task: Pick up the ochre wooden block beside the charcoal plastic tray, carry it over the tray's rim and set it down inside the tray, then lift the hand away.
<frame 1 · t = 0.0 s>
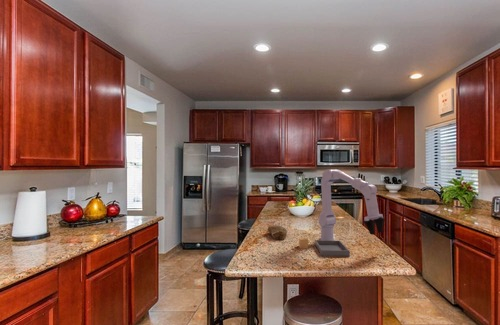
hand: (376, 233, 152), 11 cm above the counter, tool pointing down, fingers open, 7 cm apart
brown rounded lump: (277, 236, 191), on the counter
charcoal tray: (331, 250, 157), on the counter
ochre block: (303, 247, 165), on the counter
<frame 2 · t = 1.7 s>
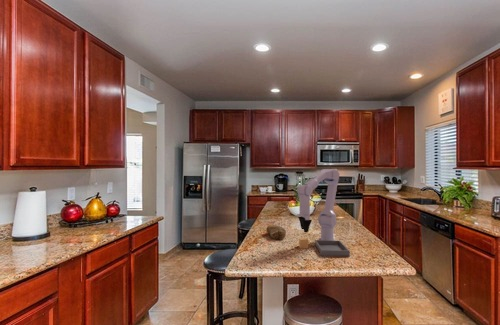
hand: (304, 230, 164), 9 cm above the counter, tool pointing down, fingers open, 7 cm apart
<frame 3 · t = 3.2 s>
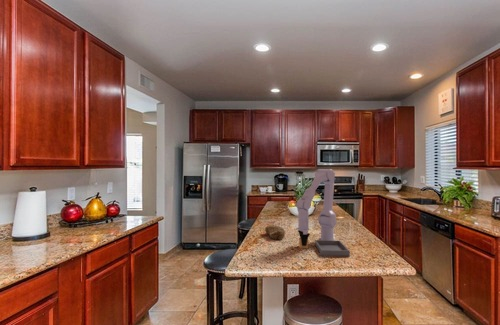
hand: (303, 244, 165), 1 cm above the counter, tool pointing down, fingers closed on ochre block, 5 cm apart
ochre block: (303, 246, 165), on the counter, touching gripper
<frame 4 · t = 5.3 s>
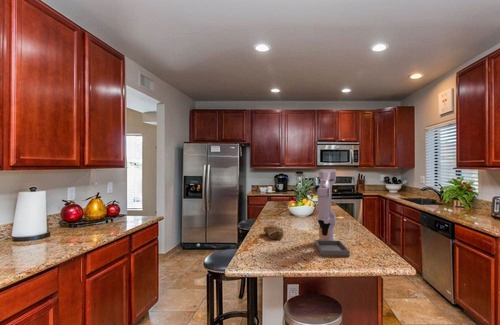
hand: (323, 234, 159), 8 cm above the counter, tool pointing down, fingers closed on ochre block, 5 cm apart
ochre block: (323, 237, 159), point 7 cm above the counter, touching gripper
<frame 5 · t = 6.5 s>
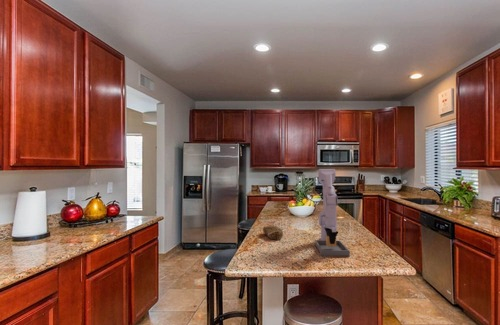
hand: (331, 242, 157), 4 cm above the counter, tool pointing down, fingers closed on ochre block, 5 cm apart
ochre block: (331, 245, 157), point 3 cm above the counter, touching gripper
when the fingers open (4 cm above the counter, at t = 7.2 s): ochre block drops 2 cm, resting on charcoal tray.
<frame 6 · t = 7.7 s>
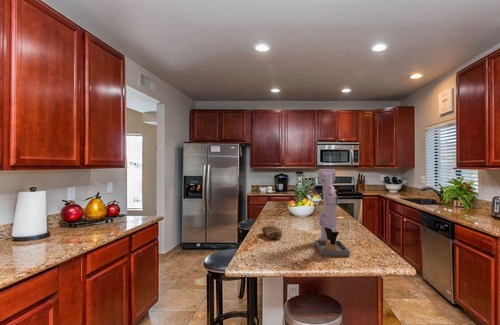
hand: (331, 242, 157), 4 cm above the counter, tool pointing down, fingers open, 7 cm apart
ochre block: (331, 249, 157), point 1 cm above the counter, touching charcoal tray
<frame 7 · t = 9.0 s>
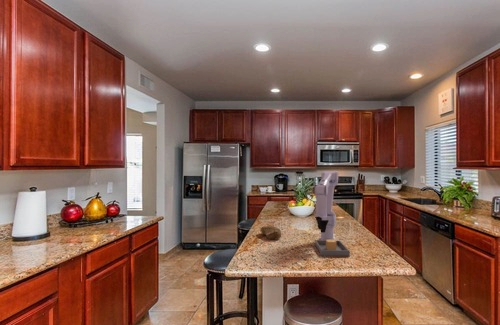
hand: (321, 230, 163), 9 cm above the counter, tool pointing down, fingers open, 7 cm apart
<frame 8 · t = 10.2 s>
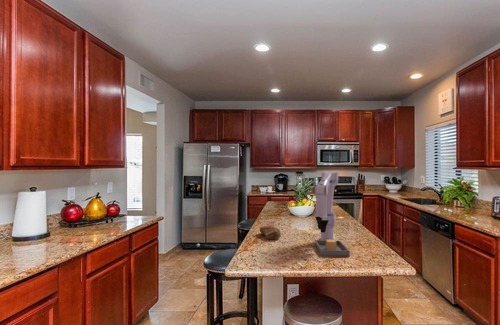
hand: (321, 230, 163), 9 cm above the counter, tool pointing down, fingers open, 7 cm apart
at the end: ochre block inside the target area on the charcoal tray (0.1 cm from its centre), point 0.8 cm above the charcoal tray's base; the gripper is holding nothing; ochre block tilted 0° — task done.
